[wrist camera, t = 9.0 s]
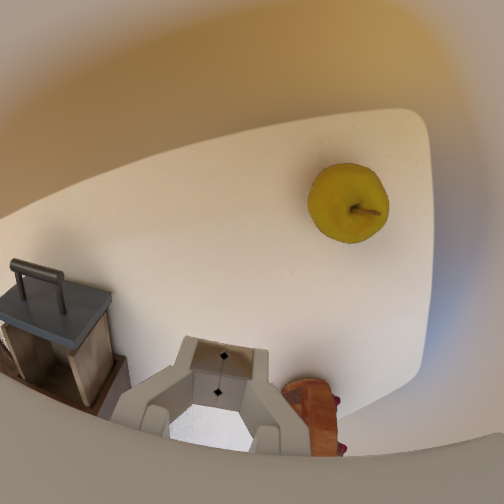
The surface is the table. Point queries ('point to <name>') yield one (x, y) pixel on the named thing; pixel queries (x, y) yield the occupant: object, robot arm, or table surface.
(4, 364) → the book
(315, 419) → the mug
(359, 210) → the apple
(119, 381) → the cabinet
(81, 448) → the robot arm
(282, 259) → the table surface
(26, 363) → the drawer
